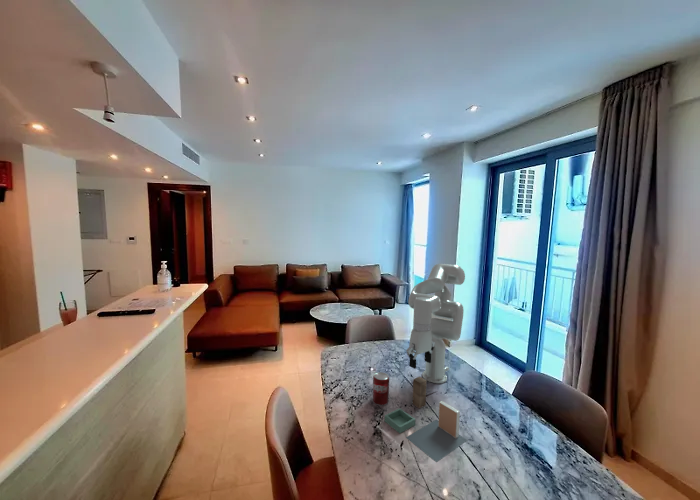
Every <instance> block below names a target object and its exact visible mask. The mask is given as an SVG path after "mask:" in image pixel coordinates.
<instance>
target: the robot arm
mask: <svg viewBox="0 0 700 500" xmlns="http://www.w3.org/2000/svg"><path fill="white" fill-rule="evenodd" d="M465 279H466V274H465V270H464V269H463V268H462V267H461V266H459V265H457V264H450V263H449V264H448V263H437V264H434V266H433V267H432V269H431V271H430V273H429V275H428V277H427V279H425V280H423V281H420V282H419V283H416V284H415V285H414V287H412V290H411V292H410V294H409V296H408V302H407V303H408V306H409V307H410V308H411V309H413V320H412V321H413V324H412V329H411V332H410V336H409V344H408V348H407V349H406V350H405V351H406V353H407V357H408V358H409V367H410V368H413V369H415V370H416V369H417V356H418V355H421V354H424V362H425V370H424V371H422V374H421V375H422V378H423V379H425V380H427V381H426V382H429V383H433V384H443V383H446V382H447V380H448V377H447V374H446V373H447V371H450V367H449V366H446V365H445V363H446V343H445V341H444V340H449V341H456V342H457V341H458V340H460V339H461V335H462V334H461V333H462V327H463V319H464V306H463V304H462V303H461V302H458V301H452V300H451V297H452V293H451V291H450V288H449V287H448V286H447V285H446V284H449V285H458V286H461V285H463V284H464V282H465V281H466V280H465ZM432 316H434V317H432ZM413 354H414V355H413Z"/></svg>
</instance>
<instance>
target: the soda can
mask: <svg viewBox="0 0 700 500" xmlns="http://www.w3.org/2000/svg"><path fill="white" fill-rule="evenodd" d="M389 399H390V376H389V374H388V373H385V372H376V373H374V374H373V376H372V402H373V403H374V404H375V405H377V406H381V407H382V406H386V405H387V404H388V403H389V402H390V400H389Z"/></svg>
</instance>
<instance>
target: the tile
mask: <svg viewBox="0 0 700 500" xmlns="http://www.w3.org/2000/svg"><path fill="white" fill-rule="evenodd" d="M460 415H461V413H460V410H458V409H456V408H455V407H453V406H452V405H450V404H448V403H447V402H445V401H444V400H441V401H439V403H438V427H440V428H441V429H443V430H444V431H446V432H447V433H449V434H450V435H452V436H453V437H455V438H457V437H459V435H460V434H459V433H460Z"/></svg>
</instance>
